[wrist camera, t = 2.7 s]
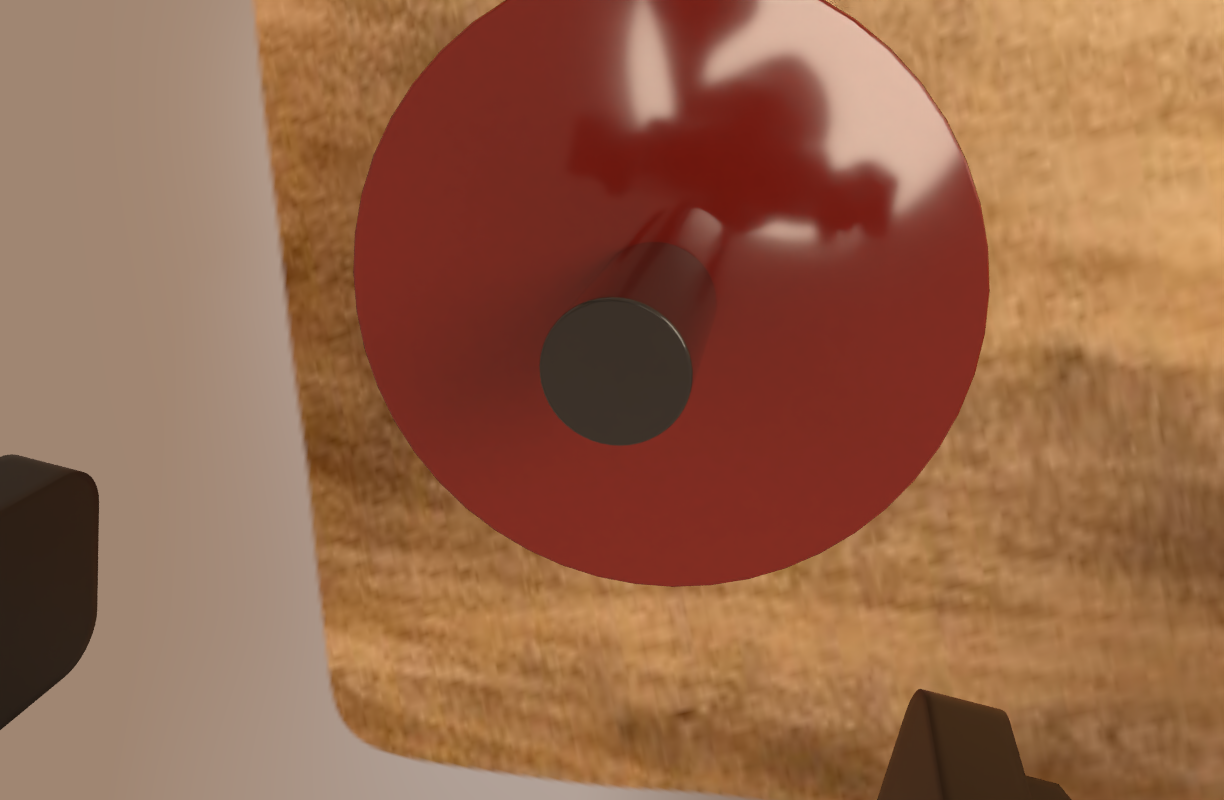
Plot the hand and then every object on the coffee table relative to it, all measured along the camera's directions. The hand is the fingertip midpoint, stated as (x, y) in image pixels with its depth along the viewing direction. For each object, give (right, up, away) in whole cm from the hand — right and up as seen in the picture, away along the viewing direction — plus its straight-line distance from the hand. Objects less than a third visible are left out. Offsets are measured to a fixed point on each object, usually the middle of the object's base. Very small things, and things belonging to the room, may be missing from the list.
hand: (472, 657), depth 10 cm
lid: (+2, +5, +16) cm, 17 cm away
